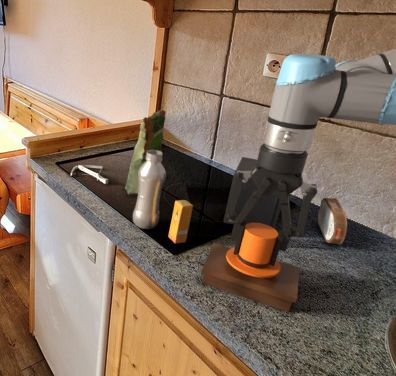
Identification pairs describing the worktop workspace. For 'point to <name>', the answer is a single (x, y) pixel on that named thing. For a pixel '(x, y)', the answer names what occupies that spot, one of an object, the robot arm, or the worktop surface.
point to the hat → (256, 251)
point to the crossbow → (91, 172)
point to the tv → (265, 206)
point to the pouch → (145, 147)
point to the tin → (332, 221)
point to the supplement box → (180, 221)
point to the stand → (251, 280)
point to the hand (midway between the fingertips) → (254, 256)
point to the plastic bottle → (149, 191)
